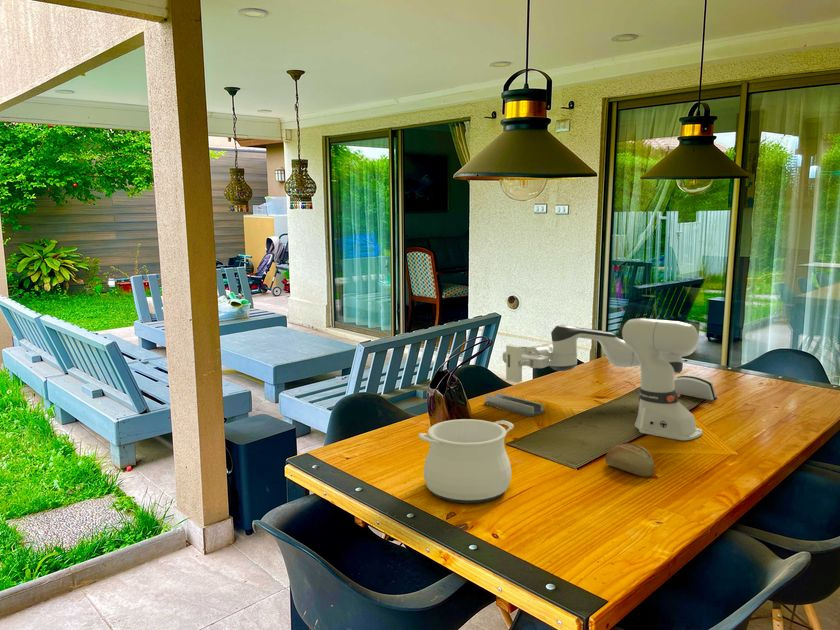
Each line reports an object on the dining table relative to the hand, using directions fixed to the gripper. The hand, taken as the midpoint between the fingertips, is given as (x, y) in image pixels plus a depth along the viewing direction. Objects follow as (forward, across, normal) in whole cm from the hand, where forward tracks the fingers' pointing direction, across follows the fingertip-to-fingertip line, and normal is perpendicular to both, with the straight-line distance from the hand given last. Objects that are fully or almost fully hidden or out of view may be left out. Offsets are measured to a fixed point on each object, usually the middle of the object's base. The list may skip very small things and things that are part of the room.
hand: (512, 362), depth 255 cm
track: (-1, 0, -19) cm, 19 cm away
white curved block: (-69, -40, -19) cm, 82 cm away
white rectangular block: (-1, 0, -8) cm, 8 cm away
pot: (+68, -43, -19) cm, 83 cm away
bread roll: (+24, -66, -19) cm, 73 cm away
